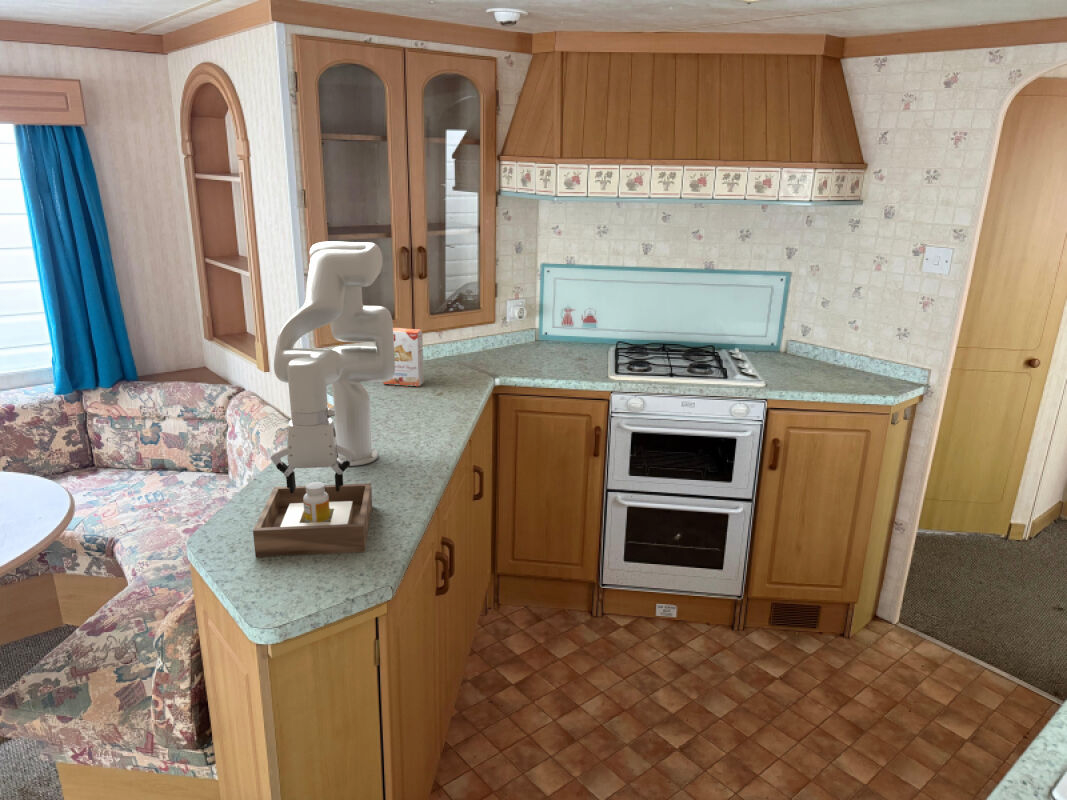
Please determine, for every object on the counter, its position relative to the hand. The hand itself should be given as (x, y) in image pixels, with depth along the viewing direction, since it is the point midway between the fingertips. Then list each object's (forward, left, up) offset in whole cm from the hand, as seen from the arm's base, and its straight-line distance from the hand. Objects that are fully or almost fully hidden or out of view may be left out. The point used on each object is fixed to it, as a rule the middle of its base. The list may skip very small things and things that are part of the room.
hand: (315, 489), depth 163 cm
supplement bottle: (0, 0, -9) cm, 9 cm away
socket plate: (0, 0, -10) cm, 10 cm away
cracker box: (-116, +15, -10) cm, 117 cm away
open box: (0, 0, -10) cm, 10 cm away
